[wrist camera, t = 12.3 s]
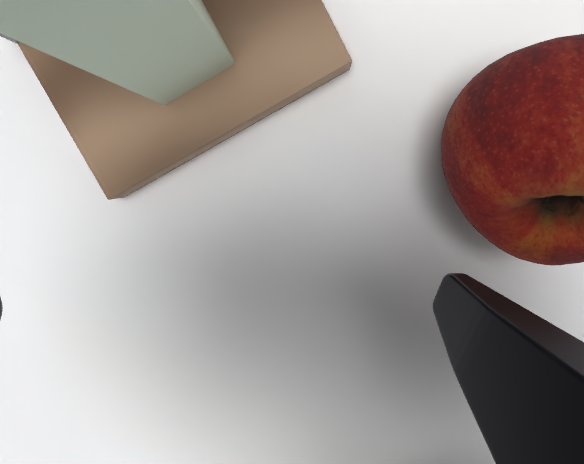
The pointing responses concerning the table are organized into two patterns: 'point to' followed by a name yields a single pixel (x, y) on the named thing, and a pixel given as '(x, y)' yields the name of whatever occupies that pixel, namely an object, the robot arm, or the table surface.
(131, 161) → the bookend shelf
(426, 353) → the table surface
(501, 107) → the apple
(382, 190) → the table surface
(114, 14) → the pale green block
